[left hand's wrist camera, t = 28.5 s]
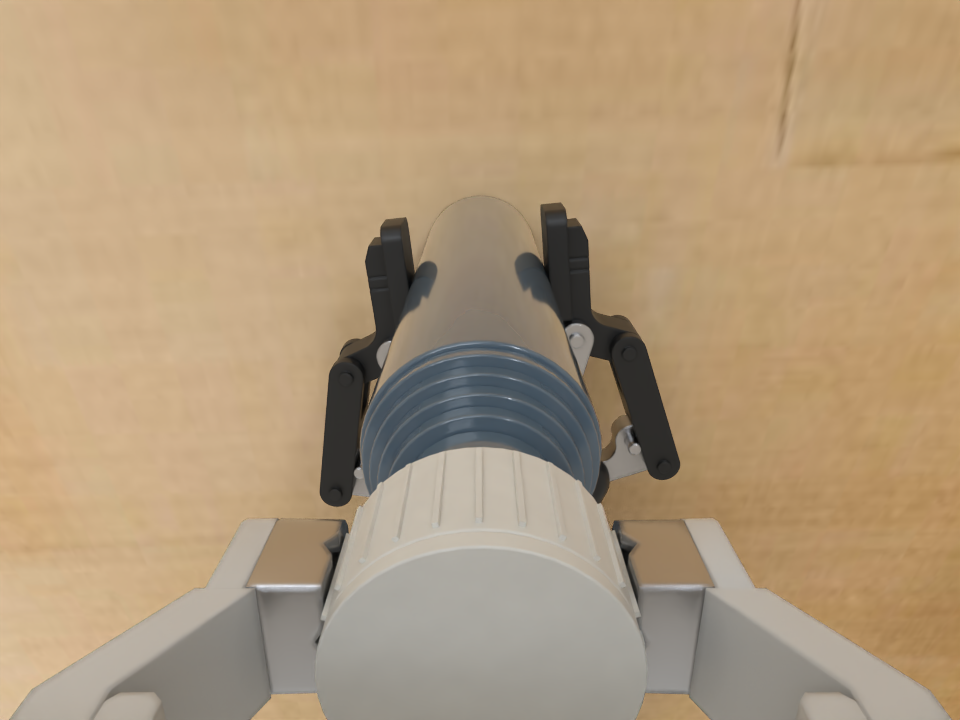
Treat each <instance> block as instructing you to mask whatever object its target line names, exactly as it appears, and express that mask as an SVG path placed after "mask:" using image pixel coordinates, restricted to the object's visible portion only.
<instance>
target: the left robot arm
mask: <svg viewBox="0 0 960 720" xmlns="http://www.w3.org/2000/svg"><path fill="white" fill-rule="evenodd" d="M612 530H615V532H616V535H617V539H618V542H619V545H620V549H621V552H622V555H623V558H624V562H625V565H626V568H627V572H628V575H629V578H630V581H631V585H632V588H633V591H634V595H635V598H636V601H637V604H638V608H639V611H640V614H641V617H637V618H636V619H637V623H638V626H639V629H640V630H641V631H642V635H643V638H644V642H645V650H646V656H647V665H648V675H647V687H646V691H645V693H664V694H690V695H689V697H690V698H691V699H692V701H693V702H694V703H695V704H696V705H697V706H698V707H699V708H700V709H701V710H702V711H703V712H704V713H705V714H706V715H707V716H708V717H709V718H710V719H711V720H952V719H951V718H950V716H949V715H948V714H947V712H946V711H945V710H944V708H943V707H942V706H941V704H940V703H939V702H938V700H937V699H936V698H935V696H934V695H933V694H932V692H931V691H930V690H929V689H927V688H925V687H924V686H922V685H921V684H919V683H917V682H916V681H914V680H913V679H911V678H909V677H908V676H906V675H905V674H903V673H901V672H900V671H898V670H897V669H895V668H893V667H892V666H890V665H889V664H887V663H885V662H884V661H882V660H880V659H879V658H877V657H876V656H874V655H872V654H871V653H869V652H868V651H866V650H864V649H863V648H861V647H860V646H858V645H856V644H855V643H853V642H852V641H850V640H848V639H847V638H845V637H843V636H842V635H840V634H839V633H837V632H835V631H834V630H832V629H831V628H829V627H827V626H826V625H824V624H823V623H821V622H819V621H818V620H816V619H815V618H813V617H811V616H810V615H808V614H807V613H805V612H803V611H802V610H800V609H798V608H797V607H795V606H794V605H792V604H790V603H789V602H787V601H786V600H784V599H782V598H781V597H779V596H778V595H776V594H774V593H773V592H771V591H770V590H768V589H766V588H755V586H754V584H753V582H752V581H751V579H750V577H749V575H748V573H747V572H746V570H745V568H744V566H743V565H742V563H741V561H740V559H739V558H738V556H737V554H736V552H735V550H734V549H733V547H732V545H731V543H730V542H729V540H728V538H727V536H726V535H725V533H724V531H723V529H722V527H721V526H720V524H719V522H718V521H717V520H715V519H714V518H692V519H680V520H620V521H614V524H613V528H612ZM346 533H349V532H348V525H347V523H346V521H345V520H334V519H286V518H281V519H278V518H248V519H246V520H244V521H243V522H242V523H241V524H240V526H239V528H238V529H237V531H236V533H235V535H234V537H233V538H232V540H231V542H230V544H229V546H228V547H227V549H226V551H225V553H224V555H223V556H222V558H221V560H220V562H219V564H218V565H217V567H216V569H215V571H214V573H213V574H212V576H211V578H210V580H209V582H208V583H207V585H206V587H205V588H194V589H193V590H191V591H189V592H188V593H186V594H185V595H183V596H181V597H180V598H178V599H177V600H175V601H173V602H172V603H170V604H168V605H167V606H165V607H164V608H162V609H160V610H159V611H157V612H156V613H154V614H152V615H151V616H149V617H148V618H146V619H144V620H143V621H141V622H139V623H138V624H136V625H135V626H133V627H131V628H130V629H128V630H127V631H125V632H123V633H122V634H120V635H119V636H117V637H115V638H114V639H112V640H110V641H109V642H107V643H106V644H104V645H102V646H101V647H99V648H98V649H96V650H94V651H93V652H91V653H90V654H88V655H86V656H85V657H83V658H81V659H80V660H78V661H77V662H75V663H73V664H72V665H70V666H69V667H67V668H65V669H64V670H62V671H60V672H59V673H57V674H56V675H54V676H52V677H51V678H49V679H48V680H46V681H44V682H43V683H41V684H40V685H38V686H36V687H35V688H33V689H32V690H31V691H30V692H29V694H28V695H27V696H26V698H25V699H24V700H23V702H22V703H21V704H20V706H19V707H18V708H17V710H16V711H15V712H14V714H13V715H12V716H11V718H10V719H9V720H250V719H251V718H252V717H253V716H254V715H255V714H256V713H257V712H258V711H259V710H260V709H261V708H262V707H263V706H264V705H265V704H266V703H267V702H268V701H269V700H270V698H271V694H296V693H317V689H316V683H315V658H316V653H317V646H318V642H319V639H320V636H321V633H322V630H323V626H324V622H325V621H323V620H320V619H321V615H322V612H323V609H324V605H325V602H326V599H327V595H328V592H329V589H330V585H331V582H332V579H333V575H334V572H335V569H336V565H337V562H338V559H339V555H340V552H341V549H342V546H343V542H344V539H345V536H346Z"/></svg>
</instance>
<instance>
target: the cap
mask: <svg viewBox="0 0 960 720" xmlns="http://www.w3.org/2000/svg"><path fill="white" fill-rule="evenodd" d="M637 617H641V614H640V611H639V608H638V604H637V601H636V598H635V595H634V591H633V588H632V585H631V581H630V578H629V575H628V572H627V568H626V565H625V562H624V558H623V555H622V552H621V549H620V545H619V542H618V539H617V535H616V532H615V530H612V531H610V527H609V524H608V521H607V518H606V514H605V511H604V508H603V506H602V504H601V503H599V504H597V502H596V501H595V499H594V498H593V497H592V496H591V494H590V493H589V492H588V491H587V490H586V489H585V488H584V487H583V485H582V482H580V481H579V480H577V481H576V480H575V479H574V478H573V477H572V476H570V475H569V474H567V473H566V472H564V471H563V470H561V469H559V468H558V467H556V466H555V465H553V463H551V462H546V461H544V460H542V459H540V458H538V457H535V456H531V455H528V454H525V453H522V452H519V451H514V450H508V449H503V448H490V447H472V448H461V449H454V450H448V451H443V452H439V453H437V454H433V455H430V456H427V457H425V458H423V459H420V460H418V461H415V462H413V463H409V464H407V465H406V466H405V467H404V468H402V469H401V470H399V471H397V472H396V473H395V474H393V475H392V476H391V477H389V478H388V479H387V480H385V481H384V482H383V483H382V482H380V483H379V484H378V485H377V489H376V490H375V491H374V492H373V493H372V494H371V496H370V497H369V498H368V500H367V501H366V502H365V504H364V505H363V506H359V507H358V509H357V511H356V515H355V518H354V522H353V525H352V529H351V532H350V534H349V533H346V536H345V539H344V542H343V546H342V549H341V552H340V555H339V559H338V562H337V565H336V569H335V572H334V575H333V579H332V582H331V585H330V589H329V592H328V595H327V599H326V602H325V605H324V609H323V612H322V615H321V619H320V620H323V621H325V622H324V626H323V630H322V633H321V636H320V639H319V642H318V646H317V653H316V658H315V683H316V689H317V695H318V699H319V701H320V704H321V707H322V710H323V713H324V715H325V716H326V718H327V720H635V719H636V717H637V715H638V713H639V710H640V708H641V706H642V703H643V699H644V695H645V691H646V687H647V675H648V665H647V656H646V650H645V642H644V638H643V635H642V631H641V630H640V629H639V626H638V623H637V619H636V618H637Z"/></svg>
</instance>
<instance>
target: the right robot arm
mask: <svg viewBox="0 0 960 720" xmlns="http://www.w3.org/2000/svg"><path fill="white" fill-rule="evenodd" d="M541 226H542V242H543V257H544V269H545V272H546V274H547V277H548V280H549V283H550V286H551V289H552V291H553V294H554V297H555V300H556V303H557V305H558V308H559V311H560V314H561V317H562V320H563V322H564V325H565V328H566V331H567V334H568V337H569V339H570V342H571V345H572V348H573V351H574V353H575V356H576V359H577V362H578V365H579V368H580V370H581V373H582V376H583V374H584V371H585V368H586V365H587V362H588V359H589V356H593V357H597V358H601V359H605V360H609V362H610V365H611V368H612V371H613V374H614V377H615V381H616V384H617V387H618V390H619V393H620V396H621V399H622V403H623V406H624V409H625V412H626V415H622V416H620V417H618V419H616V420H615V421H614V423H613V424H612V427H611V433H612V439H611V442H610V443H609V445H608V446H607V447H606V448H604V449H602V454H601V463H600V469H599V476H598V480H597V484H596V487H595V490H594V492H593V495H592V497H593V498H594V499H595V501H596V502H597V504H599V503H601V502H602V500H603V498H604V496H605V495H606V493H607V491H608V488H609V484H610V481H613V480H616V479H619V478H623V477H626V476H629V475H632V474H636V473H639V472H642V471H645V470H648V472H649V474H650V475H651V476H652V477H653V478H655V479H658V480H666V479H669V478H671V477H673V476H674V475H675V474H676V473H677V472H678V470H679V468H680V461H679V457H678V454H677V451H676V447H675V444H674V440H673V437H672V434H671V430H670V427H669V423H668V420H667V417H666V413H665V410H664V407H663V403H662V400H661V396H660V393H659V390H658V386H657V383H656V380H655V376H654V373H653V369H652V366H651V363H650V359H649V356H648V353H647V349H646V346H645V344H644V343H643V341H642V339H641V338H640V336H639V335H638V333H637V332H636V330H635V328H634V327H633V325H632V324H631V322H630V321H629V320H628V319H627V318H626V317H624V316H621V315H614V316H607V315H603V314H599V313H596V312H594V311H593V310H592V309H591V301H590V275H589V250H588V239H587V237H586V235H585V232H584V230H583V228H582V226H581V225H580V223H579V222H578V220H577V219H576V218H574V219H567V216H566V210H565V208H564V206H563V205H562V204H561V203H551V204H541ZM380 236H381V237H376V238H374V239H373V241H372V242H371V244H370V245H369V247H368V251H367V255H366V260H365V264H366V270H367V276H368V282H369V288H370V294H371V300H372V306H373V312H374V318H375V325H376V331H375V332H374V333H373V334H371V335H369V336H367V337H365V338H363V339H352V340H349V341H348V342H346V343H345V344H344V346H343V348H342V350H341V352H340V356H339V358H338V360H337V361H336V362H335V363H334V365H333V367H332V369H331V370H330V373H329V382H328V395H327V407H326V420H325V432H324V445H323V457H322V470H321V482H320V496H321V498H322V500H323V501H324V502H325V503H327V504H328V505H331V506H335V507H339V506H343V505H345V504H347V503H348V502H349V501H350V499H351V497H352V495H358V496H366V497H370V495H369V493H368V490H367V487H366V484H365V481H364V476H363V471H362V463H361V458H360V438H361V429H362V425H363V421H364V418H365V414H366V411H367V409H368V401H369V391H370V382H371V381H372V380H374V379H376V378H378V377H379V375H380V372H381V369H382V366H383V363H384V360H385V358H386V355H387V352H388V349H389V346H390V343H391V341H392V338H393V335H394V332H395V329H396V326H397V324H398V321H399V318H400V315H401V312H402V309H403V307H404V304H405V301H406V298H407V295H408V292H409V290H410V287H411V284H412V281H413V278H414V275H415V271H414V264H413V257H412V250H411V243H410V235H409V228H408V223H407V219H406V217H405V218H396V219H386V220H385V222H384V223H383V224H382V226H381V229H380Z"/></svg>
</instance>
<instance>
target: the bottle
mask: <svg viewBox="0 0 960 720" xmlns="http://www.w3.org/2000/svg"><path fill="white" fill-rule="evenodd" d="M472 447H490V448H503V449H508V450H514V451H519V452H522V453H525V454H528V455H531V456H535V457H538V458H540V459H542V460H544V461H546V462H551V463H553V465H555V466H556V467H558V468H559V469H561V470H563V471H564V472H566V473H567V474H569V475H570V476H572V477H573V478H574V479H575V480H576V481H577V480H579V481H580V482H582V485H583V487H584V488H585V489H586V490H587V491H588V492H589V493H590V494H591V496H592V495H593V492H594V490H595V487H596V484H597V480H598V476H599V469H600V463H601V454H602V438H601V431H600V426H599V421H598V418H597V416H596V413H595V410H594V407H593V404H592V401H591V399H590V396H589V393H588V390H587V387H586V384H585V382H584V379H583V376H582V373H581V370H580V368H579V365H578V362H577V359H576V356H575V353H574V351H573V348H572V345H571V342H570V339H569V337H568V334H567V331H566V328H565V325H564V322H563V320H562V317H561V314H560V311H559V308H558V305H557V303H556V300H555V297H554V294H553V291H552V289H551V286H550V283H549V280H548V277H547V274H546V272H545V269H544V266H543V263H542V260H541V257H540V255H539V252H538V249H537V246H536V243H535V241H534V238H533V235H532V232H531V229H530V227H529V225H528V223H527V221H526V220H525V218H524V217H523V216H522V215H521V213H520V212H519V211H518V210H517V209H515V208H514V207H513V206H512V205H510V204H508V203H507V202H505V201H502V200H500V199H497V198H494V197H489V196H472V197H468V198H464V199H461V200H459V201H457V202H455V203H453V204H451V205H450V206H449V207H447V208H446V209H445V210H444V211H443V212H442V213H441V214H440V215H439V216H438V218H437V219H436V220H435V222H434V224H433V226H432V228H431V230H430V233H429V236H428V238H427V241H426V244H425V247H424V250H423V253H422V255H421V258H420V261H419V264H418V267H417V270H416V272H415V275H414V278H413V281H412V284H411V287H410V290H409V292H408V295H407V298H406V301H405V304H404V307H403V309H402V312H401V315H400V318H399V321H398V324H397V326H396V329H395V332H394V335H393V338H392V341H391V343H390V346H389V349H388V352H387V355H386V358H385V360H384V363H383V366H382V369H381V372H380V375H379V377H378V380H377V383H376V386H375V389H374V392H373V394H372V397H371V400H370V403H369V406H368V409H367V411H366V414H365V418H364V421H363V425H362V429H361V438H360V458H361V463H362V471H363V476H364V481H365V484H366V487H367V490H368V493H369V495H370V496H371V494H372V493H373V492H374V491H375V490H376V489H377V485H378V484H379V483H380V482H382V483H383V482H384V481H385V480H387V479H388V478H389V477H391V476H392V475H393V474H395V473H396V472H397V471H399V470H401V469H402V468H404V467H405V466H406V465H407V464H409V463H413V462H415V461H418V460H420V459H423V458H425V457H427V456H430V455H433V454H437V453H439V452H443V451H448V450H454V449H461V448H472Z"/></svg>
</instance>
